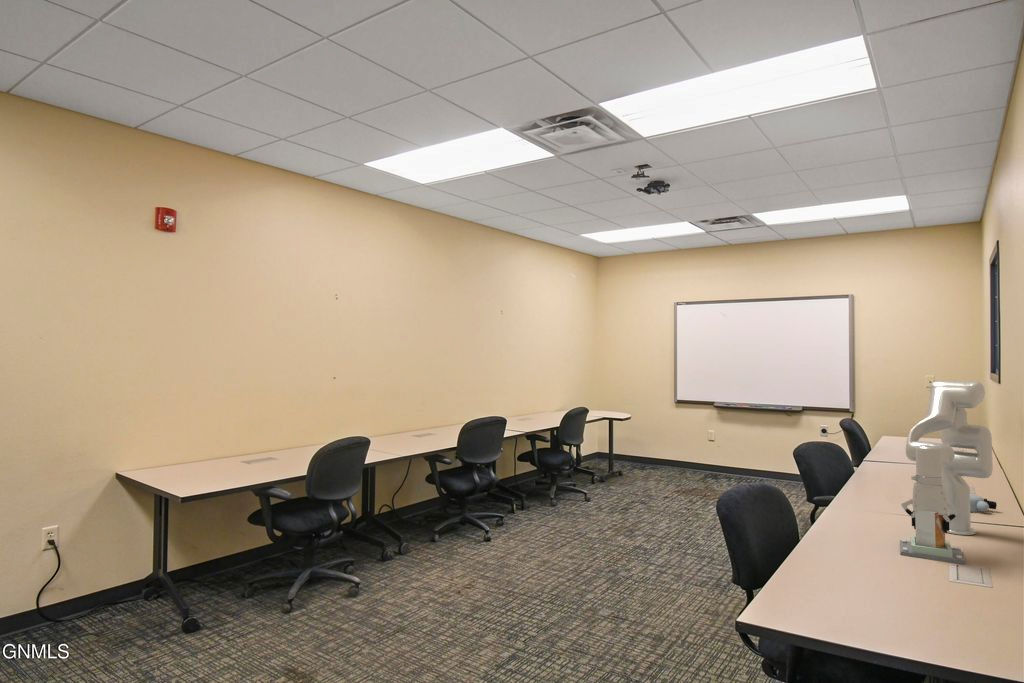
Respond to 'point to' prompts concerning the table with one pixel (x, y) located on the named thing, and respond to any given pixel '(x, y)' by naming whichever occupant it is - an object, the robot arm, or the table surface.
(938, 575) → the table surface
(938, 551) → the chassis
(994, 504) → the figurine
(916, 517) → the small box
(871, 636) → the table surface
